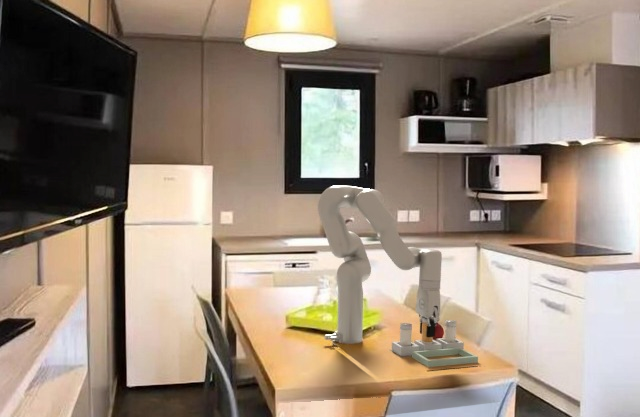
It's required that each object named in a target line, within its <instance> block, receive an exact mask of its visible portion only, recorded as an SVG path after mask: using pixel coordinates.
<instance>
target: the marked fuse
mask: <svg viewBox="0 0 640 417" xmlns="http://www.w3.org/2000/svg"><path fill="white" fill-rule="evenodd" d="M432 320H433V319H431V321H432ZM427 326H428V318H426V317H422V334H421V338H420V340H421V343H423V344H425V345H426V344H433V340H434V339H433V337H426V331H427Z"/></svg>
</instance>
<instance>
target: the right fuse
mask: <svg viewBox="0 0 640 417" xmlns="http://www.w3.org/2000/svg"><path fill="white" fill-rule="evenodd" d="M457 324H458V323H457V321H456V320H453V319H446V320H444V341H445V342H447V343H452V342H456V339H457Z"/></svg>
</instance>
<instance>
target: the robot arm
mask: <svg viewBox="0 0 640 417" xmlns="http://www.w3.org/2000/svg"><path fill="white" fill-rule="evenodd" d="M341 208H348V209H349V208H351V209H355V210H358V211H359V212H360V213H361V214H362V216H363V218H364V219H365V220H366V221H367V222H368V224H369V225H370V226H371V228H372V229H373V231H374V232H375V233H376V235H377V238H378V240H379V243H380V245H381V246H382V248H383V250H384V252H385V253H386V255H387V256H388V258H389V259H390V260H391V262H392V263H393V264H394V265H395V267H397V269H399V270H402V271H410V270H412V269H415V268H419V272H418V273H419V274H418V275H419V276H418V287H417V292H416V293H417V294H416V301H415V313H416V314H417V315H418V316H419V322H420V323H419V334H421V335H422V317H426V318H428V326H427V331H426V337H435V326H436V324H437V322H438V323H439V322H440V321H441V320H440V316H441V293H440V292H441V291H440V290H441V282H442V281H441V280H442V279H441V278H442V260H443V259H442V256H443V255H442V251H440V250H438V249H434V248H433V249H432V248H431V249H430V248H429V249H428V248H427V249H425V248H424V249H423V248H419V247H415V246H409V247H408V246H407V244H405V242H404V241H403V239H402V238H401V236H400V234H399V232H398V228H397V220H396V218H395V217H394V216H393V214H392V213H391V212H390V211H389V209H388V208H387V207H386V205H385V199H384V195H383V194H382V193H381V191H379V190H377V189H373V188H371V189H370V188H363V187H358V186H352V185H332V186H331V185H330V186H329V187H327V188H326V189H325V190H324V191H322V193H321V194H320V196H319V198H318V202H317V212H318V213H317V214H318V216H319V219H320V222H321V225H322V227H323V231H324V233H325V236H326V239H327V243H328V245H329V249H330V251H331V253H332V254H333V256H334V257H336V258H339V259H343V260H344V262H342V263H341V264H340V265H339V267H338V268H337V271H336V283H337V284H336V286H337V320H336V322H337V325H336V326H337V327H336V328H337V329H336V330H335V331H334V333H332V334H329V333H328V334H324V339H325V340H326V341H327V340H330V341H332V344H333V345H334V346H336V347H340V346H339V345H337V344H336V343H335V342H337V343H339V344H347V345H348V344H349V345H350V344H351V345H353V344H359V343H362V342H363V327H364V325H363V324H364V323H363V322H364V321H363V320H364V288H363V282H365V281H367V280H368V279H369V278H370V276H371V274H372V267H371V263H370V260H369V256H368V254H367V252H366V251H367V250H366V248H365V245H364V243H363V241H362V239H361V238H360V236H359V235H358V234H357V233H356V232H354V231H349V228H348V225H347V224H346V221H345V218H344V215H343V214H342V213H341ZM431 319H433V320H432V321H431Z"/></svg>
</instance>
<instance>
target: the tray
mask: <svg viewBox="0 0 640 417" xmlns="http://www.w3.org/2000/svg"><path fill="white" fill-rule="evenodd" d="M455 355H457V356H456V357H448V358H436V357H443V356H455ZM458 356H459V357H458ZM433 357H435V359H429V358H433ZM411 358H412V359H414V360H415V361H417V362H419V363H420V364H422V365H423V366H425V367H427V368H434V367H435V368H436V367H442V366H446V367H447V366H455V365H457V366H458V365H465V364H468V365H469V364H478V363H479V356H478V355H476V354H473V353H472V352H470V351H467V350H466V349H462V348H450V349H438V350H426V351H413V352H412V356H411ZM478 367H479V366H478V365H473V366H472V365H471V366H461V367H450V368H449V367H448V368H440V369H429V370H428V369H427V370H426V372H437V371H446V370H457V369H458V370H460V369H469V368H478Z"/></svg>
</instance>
